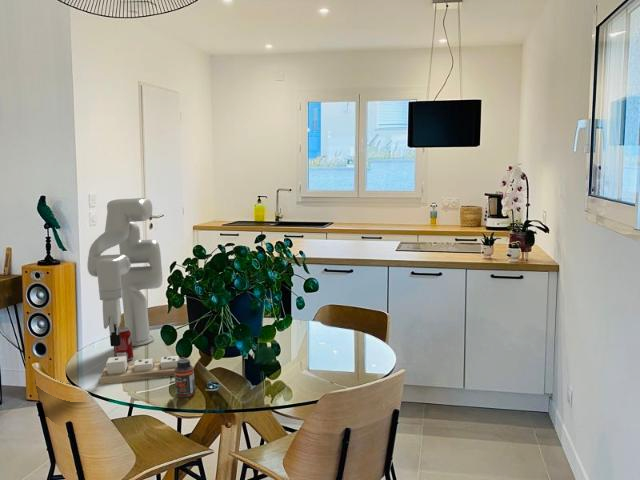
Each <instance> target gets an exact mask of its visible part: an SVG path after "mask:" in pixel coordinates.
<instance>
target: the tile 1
mask: <svg viewBox="0 0 640 480" xmlns="http://www.w3.org/2000/svg"><path fill="white" fill-rule="evenodd" d="M105 364H106V365H105V366H107V374H117V373H127V372H126V369H127V364H128V361H127V357H126V356H120V357H115V356H114V357H108V358H107V361H106V363H105Z"/></svg>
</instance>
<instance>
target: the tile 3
mask: <svg viewBox="0 0 640 480" xmlns="http://www.w3.org/2000/svg"><path fill="white" fill-rule="evenodd" d="M179 358H180V356H179V355H173V356H172V355H171V356H162V357H161V358H160V360H161V362H160V363H161V369H163V368H172V367H178V366H177V361H178V360H179Z"/></svg>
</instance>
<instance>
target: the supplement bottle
mask: <svg viewBox="0 0 640 480" xmlns="http://www.w3.org/2000/svg"><path fill="white" fill-rule="evenodd" d="M177 366H178V367H176V368H175V376H174V381H175V394H176V396H177V397H178V398H181V399H184V398H185V399H187V398H190V397H191V398H192V397H193V396H194V395H195V394H196V385H195V381H196V380H195V370H194V367H193V365H191V359H189V358H185V359H180V360H178V361H177Z"/></svg>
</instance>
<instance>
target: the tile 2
mask: <svg viewBox="0 0 640 480" xmlns="http://www.w3.org/2000/svg"><path fill="white" fill-rule="evenodd" d="M153 361H154V358H153V357H151V358H143V359H141V358H140V359H136V360H135V361H134V363H135V364H134V372H136V371H145V370H153V368H154V365H153Z"/></svg>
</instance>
